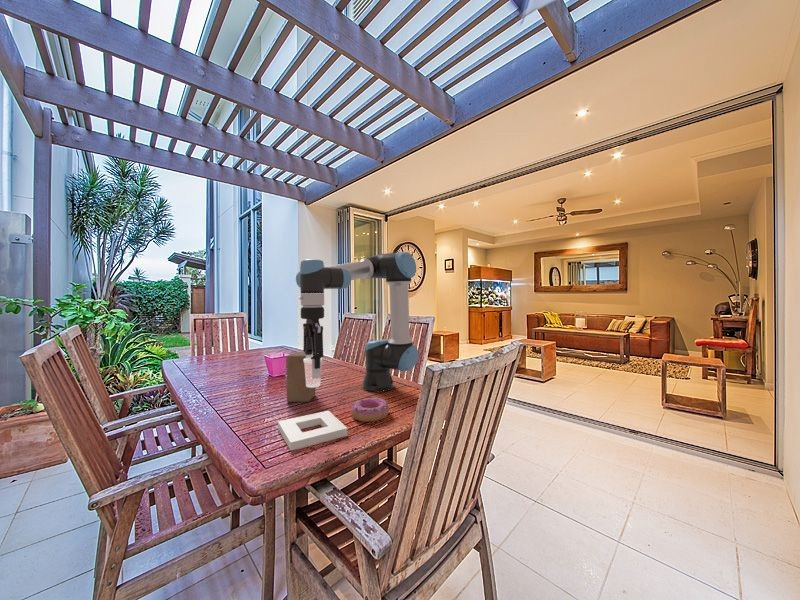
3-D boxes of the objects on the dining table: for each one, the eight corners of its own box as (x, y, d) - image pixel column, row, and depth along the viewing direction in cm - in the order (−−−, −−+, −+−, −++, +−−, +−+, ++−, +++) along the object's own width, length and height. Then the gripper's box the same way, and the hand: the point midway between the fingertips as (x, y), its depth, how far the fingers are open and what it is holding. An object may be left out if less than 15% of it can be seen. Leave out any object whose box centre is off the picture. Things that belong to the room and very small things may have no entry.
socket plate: (328, 417, 118) (328, 410, 118) (347, 435, 102) (347, 428, 102) (278, 428, 108) (277, 421, 108) (290, 450, 93) (290, 442, 93)
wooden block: (309, 402, 133) (308, 355, 132) (285, 402, 133) (285, 355, 132) (316, 395, 143) (315, 351, 142) (294, 395, 143) (293, 351, 142)
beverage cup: (311, 382, 109) (311, 341, 108) (326, 384, 106) (326, 342, 106) (299, 387, 103) (299, 344, 103) (315, 389, 101) (314, 345, 100)
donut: (344, 415, 120) (344, 402, 120) (374, 406, 129) (374, 394, 129) (365, 427, 109) (365, 413, 109) (396, 416, 118) (396, 403, 118)
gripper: (293, 305, 110) (294, 371, 111) (309, 308, 94) (310, 384, 95) (314, 305, 114) (315, 368, 115) (333, 307, 98) (334, 380, 99)
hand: (313, 375), depth 105 cm, fingers closed on beverage cup, 6 cm apart
